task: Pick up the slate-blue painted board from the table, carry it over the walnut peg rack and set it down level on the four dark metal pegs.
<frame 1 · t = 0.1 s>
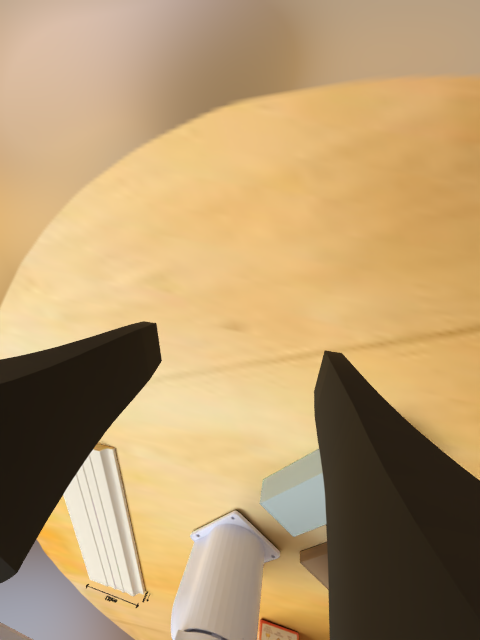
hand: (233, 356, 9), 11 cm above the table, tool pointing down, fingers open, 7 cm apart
baseboard molding: (110, 515, 35), on the table
peg rack: (426, 567, 23), on the table
shelf board: (328, 466, 23), on the table
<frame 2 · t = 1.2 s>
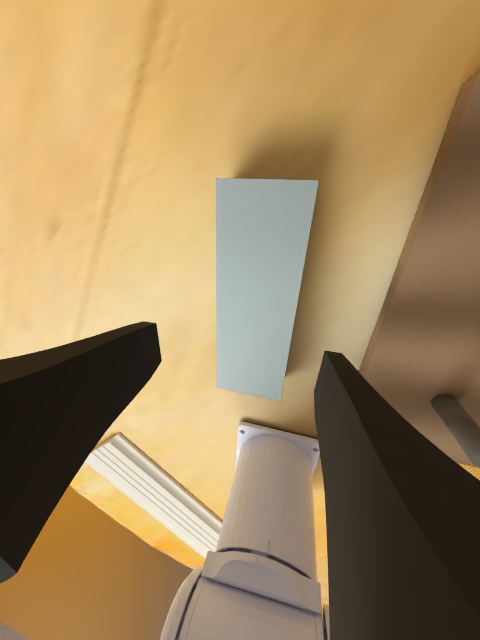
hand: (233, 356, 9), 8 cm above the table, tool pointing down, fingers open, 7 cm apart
baseboard molding: (184, 501, 34), on the table
shelf board: (261, 295, 16), on the table
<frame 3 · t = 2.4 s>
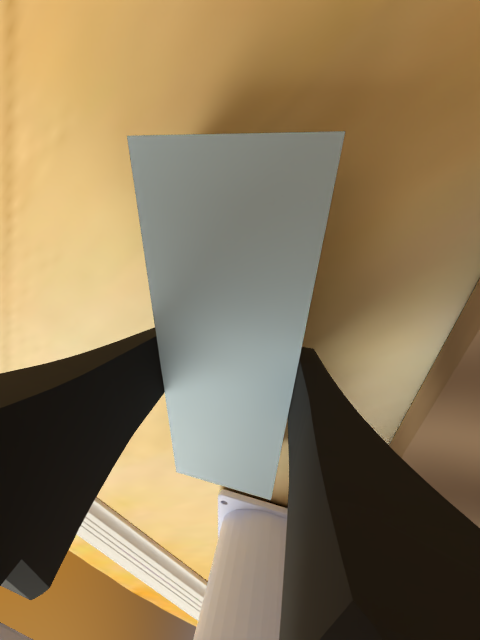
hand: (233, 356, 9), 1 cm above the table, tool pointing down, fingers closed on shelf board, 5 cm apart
baseboard molding: (162, 553, 29), on the table
shelf board: (241, 337, 11), on the table, touching gripper
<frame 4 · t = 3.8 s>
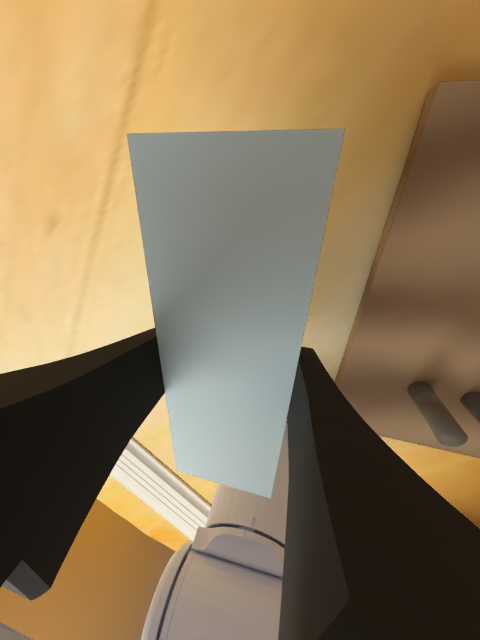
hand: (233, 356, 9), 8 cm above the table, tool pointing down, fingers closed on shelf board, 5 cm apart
baseboard molding: (178, 490, 35), on the table
peg rack: (476, 319, 14), on the table
shelf board: (241, 336, 11), point 7 cm above the table, touching gripper
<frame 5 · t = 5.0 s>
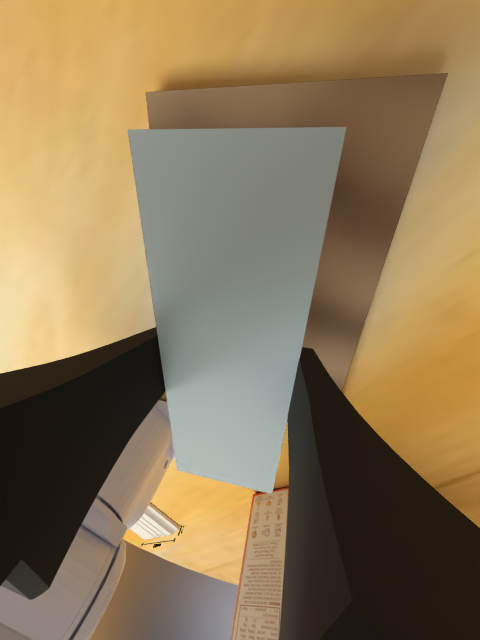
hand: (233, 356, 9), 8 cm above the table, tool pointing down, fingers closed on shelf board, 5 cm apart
baseboard molding: (101, 472, 37), on the table
peg rack: (260, 296, 16), on the table
cracker box: (303, 519, 28), on the table
shelf board: (240, 334, 11), point 6 cm above the table, touching gripper
when the fingers open (7 cm above the table, at t = 5.6 s): shelf board stays where it is, resting on peg rack.
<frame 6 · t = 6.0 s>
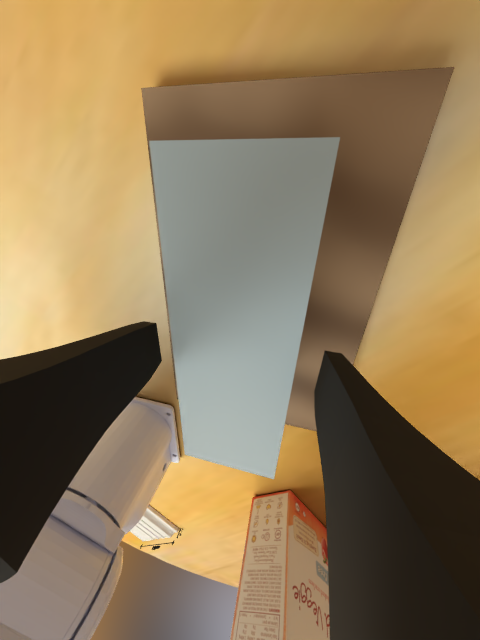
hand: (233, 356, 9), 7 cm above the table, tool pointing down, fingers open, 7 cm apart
baseboard molding: (100, 474, 37), on the table
peg rack: (260, 297, 16), on the table
cracker box: (303, 522, 27), on the table
shelf board: (246, 327, 11), point 5 cm above the table, touching peg rack
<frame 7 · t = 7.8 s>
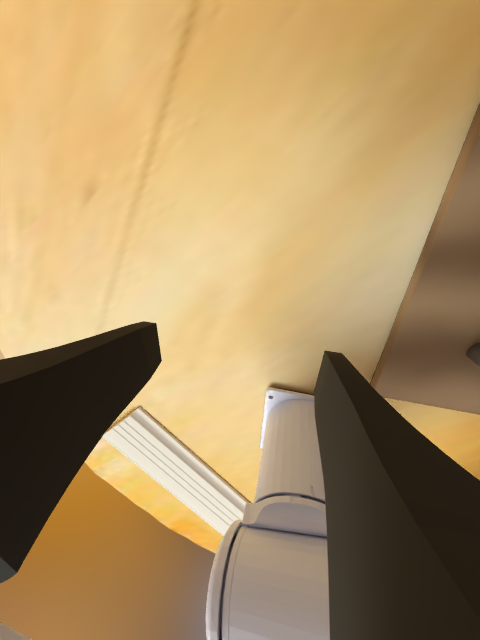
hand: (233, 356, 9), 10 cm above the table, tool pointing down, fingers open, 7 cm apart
baseboard molding: (202, 477, 34), on the table
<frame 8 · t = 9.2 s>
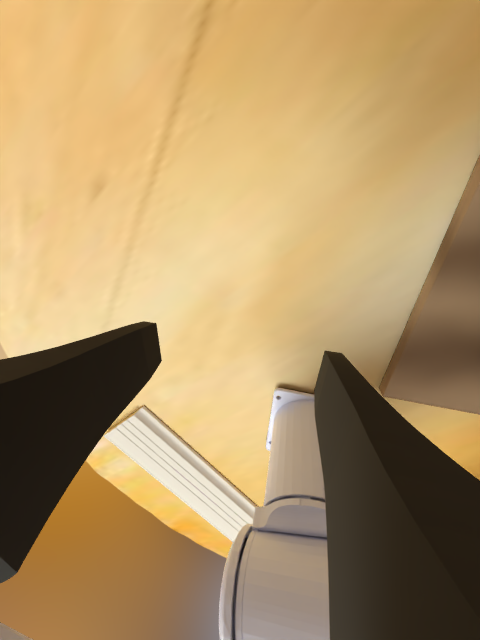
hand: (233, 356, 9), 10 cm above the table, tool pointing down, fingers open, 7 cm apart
baseboard molding: (205, 477, 34), on the table
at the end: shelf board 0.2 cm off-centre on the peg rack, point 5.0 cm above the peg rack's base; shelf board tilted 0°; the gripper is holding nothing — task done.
